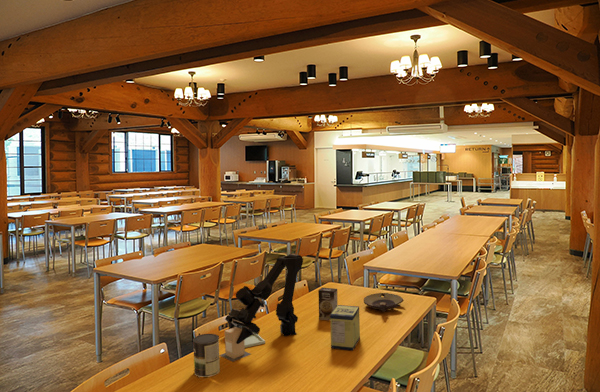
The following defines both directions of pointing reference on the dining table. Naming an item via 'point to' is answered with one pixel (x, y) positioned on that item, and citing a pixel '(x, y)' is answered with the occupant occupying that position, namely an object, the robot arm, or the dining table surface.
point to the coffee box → (327, 302)
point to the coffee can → (206, 355)
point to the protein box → (345, 327)
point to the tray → (253, 341)
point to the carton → (234, 343)
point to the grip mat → (235, 358)
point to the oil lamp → (383, 301)
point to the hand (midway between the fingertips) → (232, 341)
